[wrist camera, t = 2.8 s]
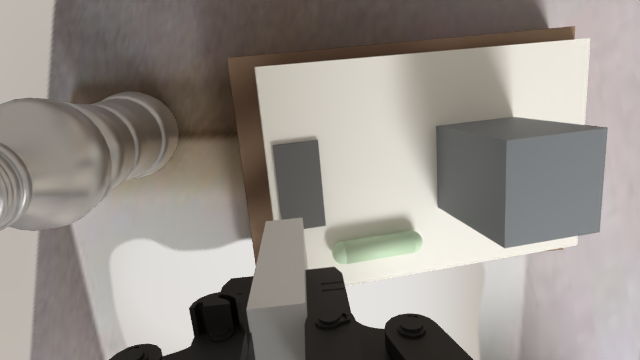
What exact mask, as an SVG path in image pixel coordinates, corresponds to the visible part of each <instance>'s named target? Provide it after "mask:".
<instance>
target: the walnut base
mask: <svg viewBox="0 0 640 360" xmlns="http://www.w3.org/2000/svg"><path fill="white" fill-rule="evenodd" d="M574 38H575V26H573V27H562V28H551V29H540V30H529V31H518V32H507V33H496V34H485V35H474V36H463V37H452V38H441V39H430V40H419V41H408V42H397V43H386V44H375V45H364V46H353V47H342V48H331V49H320V50H309V51H298V52H287V53H276V54H265V55H254V56H243V57H232V58H227V61H228V68H229V75H230V83H231V90H232V97H233V104H234V112H235V119H236V126H237V133H238V141H239V148H240V155H241V162H242V170H243V177H244V184H245V191H246V199H247V206H248V213H249V220H250V227H251V235H252V242H253V249H254V256H255V263H256V264H257V259H258V255H259V250H260V246H261V241H262V237H263V232H264V228H265V223H266V221H273V215H272V207H271V198H270V190H269V182H268V174H267V166H266V158H265V150H264V142H263V134H262V126H261V118H260V110H259V101H258V93H257V85H256V77H255V69H254V68H255V67H261V66H273V65H285V64H296V63H308V62H319V61H331V60H343V59H354V58H366V57H377V56H389V55H401V54H412V53H424V52H435V51H447V50H459V49H470V48H482V47H493V46H505V45H517V44H528V43H540V42H551V41H563V40H574ZM562 249H563V248H558V249H552V250H547V251H553V250H562ZM541 252H543V251H541Z"/></svg>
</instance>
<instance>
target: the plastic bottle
mask: <svg viewBox="0 0 640 360" xmlns="http://www.w3.org/2000/svg"><path fill="white" fill-rule="evenodd" d="M178 135H179V132H178V125H177V123H176V120H175V117H174V116H173V114H172V112H171V111H170V110H169V108H168V107H167V106H166V105H165V104H163V103H162V102H161V101H160V100H158V99H156V98H154V97H152V96H149V95H147V94H144V93H140V92H132V91H129V92H121V93H118V94H115V95H112V96H109V97H107V98H105V99H103V100H102V101H100V102H97V103H94V104H74V103H68V102H63V101H57V100H51V99H39V98H24V99H15V100H12V101H9V102H6V103H3V104H1V105H0V230H2V229H4V228H6V227H13V228H16V229H20V230H30V231H36V230H45V229H54V228H60V227H63V226H66V225H69V224H71V223H73V222H75V221H77V220H79V219H81V218H82V217H83V216H84V215H86V214H87V213H88V212H89V211H91V210H92V209H93V208H94V207H95V206H96V205H97V204H98V203H99V202H100V201H101V200H102V199H103V198H104V197H105V196H106V195H107V194H108V193H109V192H110V191H111V190H112V189H113V188H114V187H116V186H117V185H118V184H120V183H122V182H123V181H126V180H129V179H136V178H141V177H145V176H148V175H151V174H153V173H155V172H157V171H159V170H160V169H161V168H163V167H164V166H165V165H166V164H167V163H168V161H169V160H170V159H171V157H172V155H173V154H174V151H175V149H176V147H177V143H178Z"/></svg>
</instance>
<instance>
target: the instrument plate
mask: <svg viewBox="0 0 640 360" xmlns="http://www.w3.org/2000/svg"><path fill="white" fill-rule="evenodd" d="M589 52H590V38H586V39H575V40H563V41H551V42H540V43H528V44H517V45H505V46H493V47H482V48H470V49H459V50H447V51H435V52H424V53H412V54H401V55H389V56H377V57H366V58H354V59H343V60H331V61H319V62H308V63H296V64H285V65H273V66H261V67H255V68H254V69H255V77H256V85H257V93H258V101H259V110H260V118H261V126H262V134H263V142H264V150H265V158H266V166H267V174H268V182H269V190H270V198H271V207H272V215H273V221H274V220H283V219H293V218H303V226H304V236H305V245H306V255H307V264H308V269H317V268H326V267H336V268H337V269H338V270H339V271H340V272H341V273H342V275H343V279H344V284H345V286H349V285H354V284H360V283H365V282H371V281H377V280H383V279H389V278H394V277H399V276H405V275H411V274H417V273H422V272H428V271H434V270H439V269H444V268H451V267H456V266H462V265H467V264H473V263H479V262H485V261H490V260H496V259H501V258H507V257H513V256H518V255H524V254H530V253H535V252H541V251H547V250H552V249H558V248H564V247H569V246H575V245H577V241H578V236H579V235H585V234H591V233H597V232H600V219H601V206H602V193H603V180H604V167H605V154H606V141H607V128H606V127H597V126H588V125H585V115H586V99H587V84H588V68H589Z"/></svg>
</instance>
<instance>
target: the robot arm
mask: <svg viewBox="0 0 640 360" xmlns="http://www.w3.org/2000/svg"><path fill="white" fill-rule="evenodd" d="M189 310H190V315H191V320H192V325H193V331H194V336H195V337H194V339H193V342H192V344H191V346H190V347H188V348H186V349H184V350H181V351H179V352H176V353H173V354H169V355H166V356H162V352H161V349H160V348H159V347H158V346H156V345H152V344H141V345H134V346H131V347H128V348H126V349H125V350H123V351H121V352H119V353H117V354H116V355H114V356H113V357H112V358H111V359H109V360H473V359H472V358H471V357H470V356H469V355H468V354H467V353H466V352H465V351H464V350H463V349H462V348H461V347H460V346H459V345H458V344H457V343H456V342H455V341H454V340H453V339H452V338H451V337H450V336H449V335H448V334H447V333H445V332H444V330H443V329H442V328H441V327H440V326H438V324H437V323H435V322H434V321H433V320H431V319H430V318H428V317H425V316H422V315H419V314H402V315H398V316H395V317H393V318H391V319H390V320H389V321H388V322H387V323H386V325H385V329H378V328H371V327H367V326H364V325H362V324H360V323H358V322H357V321H356V320H355V318H354V316H353V315H352V313H351V311H350V306H349V302H348V298H347V293H346V289H345V284H344V279H343V275H342V273H341V272H340V271H339V270H338V269H337V268H336V267H326V268H317V269H308V264H307V255H306V245H305V236H304V226H303V218H293V219H283V220H274V221H266V223H265V228H264V232H263V237H262V241H261V246H260V250H259V255H258V259H257V264H256V269H255V273H254V276H252V277H242V278H233V279H231V280H230V281H228V282H227V283H226V284H225V285H224V286H223V287H222V290H221V292H218V293H213V294H209V295H207V296H204V297H202V298H200V299H198V300H197V301H195V302H194V303H193V304H192V305H191V307H190V308H189Z"/></svg>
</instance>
